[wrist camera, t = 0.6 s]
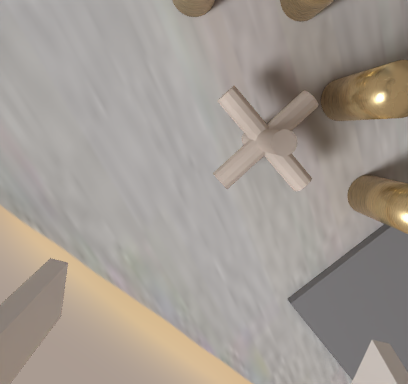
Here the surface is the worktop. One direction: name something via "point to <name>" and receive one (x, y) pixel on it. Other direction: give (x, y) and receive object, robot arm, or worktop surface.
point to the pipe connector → (266, 139)
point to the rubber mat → (361, 300)
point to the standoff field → (354, 113)
